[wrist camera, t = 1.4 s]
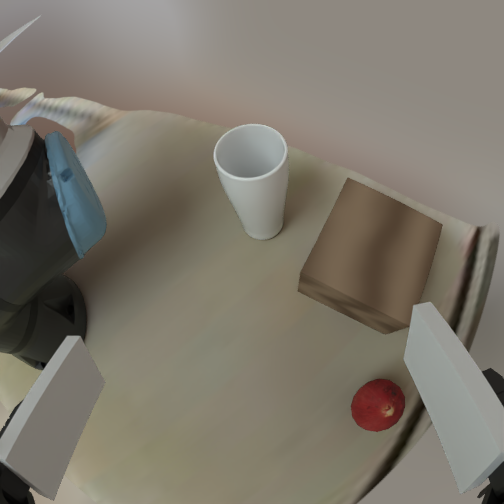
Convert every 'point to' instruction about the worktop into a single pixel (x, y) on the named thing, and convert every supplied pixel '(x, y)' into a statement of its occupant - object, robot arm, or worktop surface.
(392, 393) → the onion
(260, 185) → the white tumbler
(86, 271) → the worktop surface
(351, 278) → the walnut stand
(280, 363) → the worktop surface
